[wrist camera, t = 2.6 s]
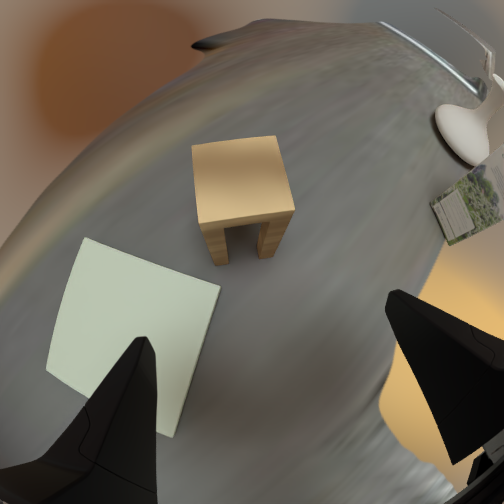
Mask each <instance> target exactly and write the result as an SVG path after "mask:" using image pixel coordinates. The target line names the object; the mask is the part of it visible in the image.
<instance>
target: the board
mask: <svg viewBox="0 0 504 504" xmlns="http://www.w3.org/2000/svg"><path fill="white" fill-rule="evenodd" d="M220 291H221V286H218V285H215V284H212V283H209V282H206V281H203V280H200V279H197V278H194V277H191V276H188V275H185V274H182V273H179V272H176V271H174V270H171V269H168V268H165V267H162V266H159V265H157V264H154V263H151V262H148V261H146V260H143V259H140V258H137V257H135V256H132V255H129V254H127V253H124V252H121V251H119V250H116V249H113V248H111V247H108V246H106V245H103V244H101V243H98V242H95V241H93V240H90V239H88V238H85V237H84V240H83V242H82V245H81V247H80V250H79V252H78V255H77V258H76V260H75V263H74V266H73V269H72V271H71V274H70V277H69V280H68V283H67V286H66V289H65V293H64V296H63V299H62V302H61V306H60V309H59V313H58V317H57V321H56V324H55V328H54V333H53V337H52V341H51V346H50V351H49V356H48V361H47V367H46V370H47V371H48V372H50V373H51V374H52V375H54V376H55V377H57V378H58V379H60V380H61V381H63V382H64V383H66V384H67V385H69V386H70V387H72V388H73V389H75V390H76V391H78V392H80V393H81V394H83V395H85V396H86V397H88V398H90V397H91V395H92V394H93V393H94V391H95V390H96V389H97V387H98V386H99V384H100V383H101V382H102V380H103V379H104V378H105V376H106V375H107V374H108V372H109V371H110V370H111V368H112V367H113V366H114V364H115V363H116V362H117V361H118V359H119V358H120V357H121V355H122V354H123V353H124V351H125V350H126V349H127V347H128V346H129V345H130V344H131V342H132V341H133V340H134V339H135V338H136V337H140V336H146V337H148V339H149V341H150V343H151V345H152V347H153V349H154V351H155V354H156V372H157V392H158V396H157V421H156V432H158V433H161V434H163V435H166V436H168V437H171V438H173V437H174V435H175V433H176V429H177V426H178V423H179V419H180V416H181V413H182V409H183V406H184V403H185V400H186V396H187V393H188V390H189V387H190V384H191V380H192V377H193V374H194V371H195V368H196V364H197V361H198V358H199V355H200V352H201V349H202V346H203V343H204V339H205V336H206V333H207V330H208V327H209V324H210V321H211V318H212V315H213V312H214V309H215V306H216V303H217V300H218V297H219V294H220Z"/></svg>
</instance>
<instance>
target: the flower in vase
mask: <svg viewBox="0 0 504 504" xmlns="http://www.w3.org/2000/svg"><path fill="white" fill-rule="evenodd" d="M502 107H504V81H503V80H502V79H501V78H500V77H499V76H497V75H496V74H493V85H492V88H491V90H490V93H489V94H488V96H487V98H486V99H485V100H484V102H483V103H482V104H481V105H480V106H479V107H478V108H476V109H473V110H471V109H466V108H463V107H459V106H455V105H449V104H444V105H441V106H439V107H437V109H436V111H435V119H436V124H437V126H438V129H439V131H440V133H441V135H442V136H443V138H444V139H445V141H446V142H447V144H448V145H449V146H450V147H451V148H452V150H453V151H454V152H455V153H456V154H457V155H458V156H459V157H460V158H461V159H463V160H464V161H465V162H467V163H468V164H470V165H472V166H475V167H476V166H477V165H478V164H480V163H481V162H482V161H483V160H484V159H486V158H487V157H488V156H489V143H488V136H487V130H486V126H487V122H488V120H489V119H490V118H491V117H492V116H493V114H494V113H496V112H497V111H498V110H499V109H501V108H502Z"/></svg>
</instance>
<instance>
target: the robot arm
mask: <svg viewBox="0 0 504 504" xmlns="http://www.w3.org/2000/svg"><path fill="white" fill-rule="evenodd" d="M385 312H386V315H387V317H388V320H389V322H390V324H391V327H392V329H393V332H394V334H395V337H396V339H397V341H398V344H399V346H400V348H401V350H402V352H403V354H404V356H405V357H406V359H407V361H408V363H409V365H410V367H411V369H412V371H413V373H414V375H415V377H416V379H417V382H418V384H419V386H420V388H421V390H422V392H423V394H424V397H425V399H426V401H427V403H428V405H429V408H430V410H431V412H432V414H433V417H434V419H435V421H436V424H437V425H438V429H439V431H440V434H441V436H442V439H443V441H444V444H445V447H446V449H447V452H448V455H449V457H450V460H451V463H452V465H455V464H456V463H458V462H459V461H461V460H463V459H464V458H466V457H467V456H468V455H470V454H472V453H473V452H475V451H476V450H477V449H479V448H480V447H483V449H484V451H483V452H482V453H481V454H480V455H479V456H477V457H476V458H475V459H474V461H473V464H472V468H471V472H470V475H469V478H468V481H467V485H468V486H467V487H466V488H465V489H463V490H462V491H461V492H459V493H458V494H457V495H455V496H454V497H452V498H451V499H450V500H448V501H447V502H445V503H444V504H504V340H501V339H499V338H497V337H495V336H493V335H490V334H488V333H486V332H484V331H482V330H479V329H478V328H476V327H474V326H472V325H469V324H468V323H466V322H464V321H462V320H460V319H458V318H456V317H454V316H452V315H450V314H448V313H446V312H444V311H442V310H441V309H439V308H437V307H434V306H432V305H430V304H428V303H426V302H424V301H422V300H420V299H418V298H416V297H414V296H412V295H410V294H408V293H406V292H404V291H402V290H400V289H397V290H393V291H390V292H389V294H388V298H387V302H386V306H385ZM157 396H158V392H157V372H156V354H155V351H154V349H153V347H152V345H151V343H150V341H149V339H148V337H146V336H140V337H136V338H135V339H134V340H133V341H132V342H131V344H130V345H129V346H128V347H127V349H126V350H125V351H124V353H123V354H122V355H121V357H120V358H119V359H118V361H117V362H116V363H115V364H114V366H113V367H112V368H111V370H110V371H109V372H108V374H107V375H106V376H105V378H104V379H103V380H102V382H101V383H100V384H99V386H98V387H97V389H96V390H95V391H94V393H93V394H92V395H91V397H90V398H89V399H88V401H87V402H86V404H85V406H83V408H82V409H81V410H80V412H79V413H78V415H77V416H76V417H75V419H74V420H73V421H72V423H71V424H70V425H69V426H68V427H67V429H66V430H65V431H64V432H63V433H62V435H61V436H60V437H59V438H58V439H57V440H56V441H55V443H54V444H53V445H52V446H51V447H50V448H49V450H48V451H47V452H46V453H45V454H44V455H43V456H41V457H40V458H38V459H37V460H34V461H31V462H28V463H24V464H20V465H16V466H12V467H8V468H4V469H0V499H1V500H2V501H4V503H3V502H0V504H158V502H157V482H156V421H157Z"/></svg>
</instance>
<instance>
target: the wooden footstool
mask: <svg viewBox="0 0 504 504" xmlns="http://www.w3.org/2000/svg"><path fill="white" fill-rule="evenodd" d="M192 158H193V170H194V182H195V192H196V202H197V212H198V221H199V225H200V228H201V231H202V233H203V236H204V239H205V241H206V244H207V246H208V249H209V251H210V254H211V256H212V259H213V261H214V264H215V266H218V265H225V264H229V259H228V253H227V247H226V240H225V234H224V228H228V227H234V226H241V225H248V224H255V223H262V224H261V229H260V233H259V238H258V243H257V250H258V255H259V259H263V258H269V257H273V256H274V254H275V251H276V249H277V247H278V245H279V243H280V241H281V239H282V237H283V235H284V233H285V230H286V228H287V226H288V224H289V222H290V220H291V218H292V216H293V213H294V211H295V207H294V203H293V199H292V195H291V191H290V187H289V183H288V180H287V176H286V172H285V168H284V165H283V161H282V157H281V154H280V150H279V147H278V143H277V140H276V136H265V137H254V138H245V139H236V140H228V141H220V142H213V143H206V144H200V145H194V146H192Z"/></svg>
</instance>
